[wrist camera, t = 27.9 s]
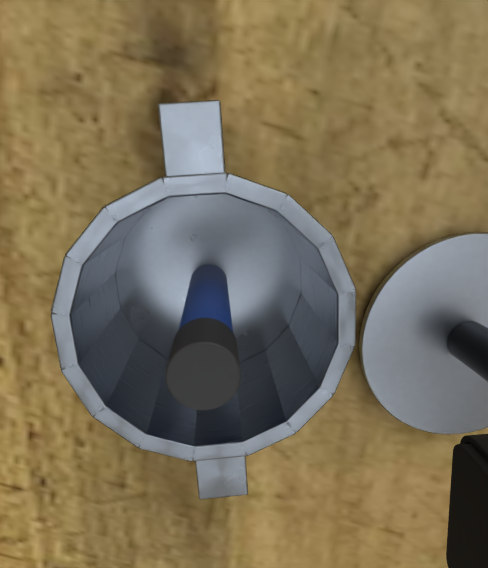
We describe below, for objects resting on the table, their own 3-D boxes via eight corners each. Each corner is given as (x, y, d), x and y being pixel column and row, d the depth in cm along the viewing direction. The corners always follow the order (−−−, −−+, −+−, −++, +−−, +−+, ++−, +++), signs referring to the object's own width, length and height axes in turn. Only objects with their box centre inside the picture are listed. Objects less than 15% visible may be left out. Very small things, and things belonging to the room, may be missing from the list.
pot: (308, 118, 24) (357, 88, 16) (314, 402, 28) (355, 495, 20) (83, 131, 23) (10, 107, 15) (126, 420, 28) (88, 522, 19)
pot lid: (568, 223, 26) (662, 235, 21) (543, 415, 30) (617, 469, 24) (356, 238, 26) (394, 255, 20) (355, 433, 29) (388, 493, 24)
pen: (227, 261, 25) (238, 338, 13) (230, 299, 26) (243, 408, 14) (186, 264, 25) (160, 345, 13) (190, 302, 25) (169, 414, 14)
